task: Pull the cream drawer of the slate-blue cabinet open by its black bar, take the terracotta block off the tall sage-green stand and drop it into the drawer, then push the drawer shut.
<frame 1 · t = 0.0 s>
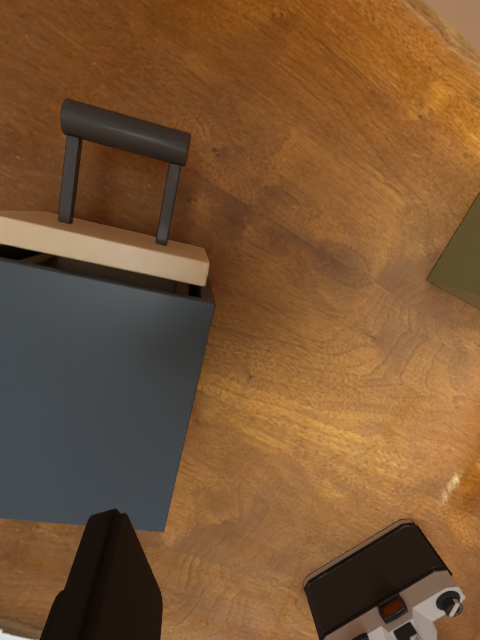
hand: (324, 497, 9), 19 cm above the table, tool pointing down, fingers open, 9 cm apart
cabinet: (112, 345, 26), on the table
camera: (368, 565, 36), on the table
drawer: (107, 291, 21), point 5 cm above the table, slide at 0.5 cm
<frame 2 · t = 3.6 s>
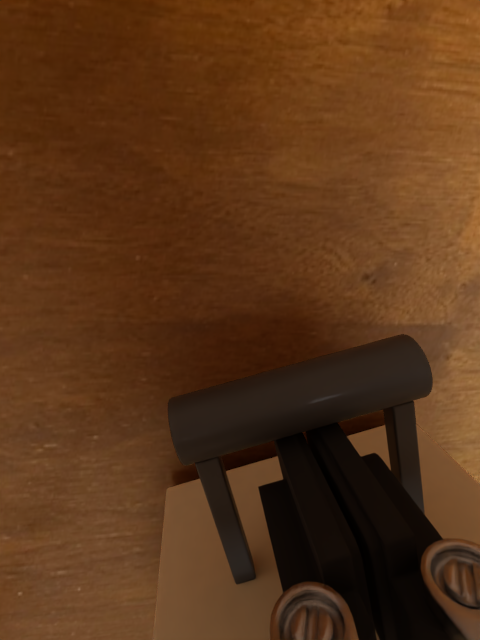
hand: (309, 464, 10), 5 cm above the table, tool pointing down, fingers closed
drawer: (339, 607, 12), point 5 cm above the table, slide at 0.8 cm, touching gripper
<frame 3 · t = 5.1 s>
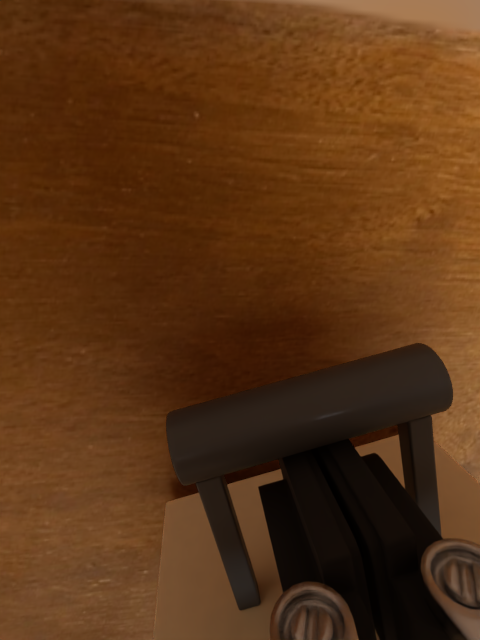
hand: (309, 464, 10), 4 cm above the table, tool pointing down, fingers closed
drawer: (348, 631, 11), point 5 cm above the table, slide at 7.3 cm, touching gripper
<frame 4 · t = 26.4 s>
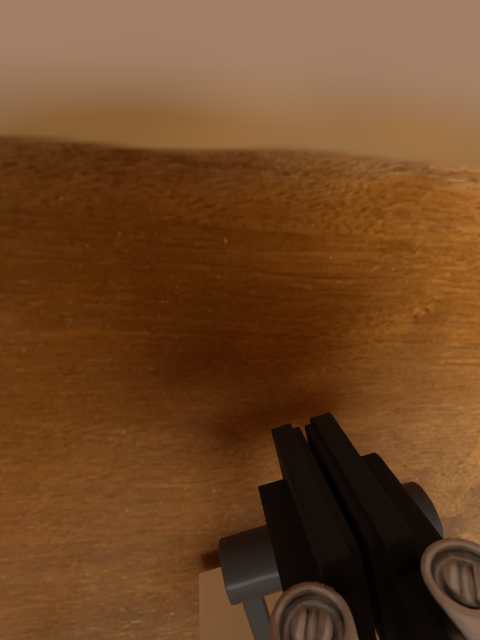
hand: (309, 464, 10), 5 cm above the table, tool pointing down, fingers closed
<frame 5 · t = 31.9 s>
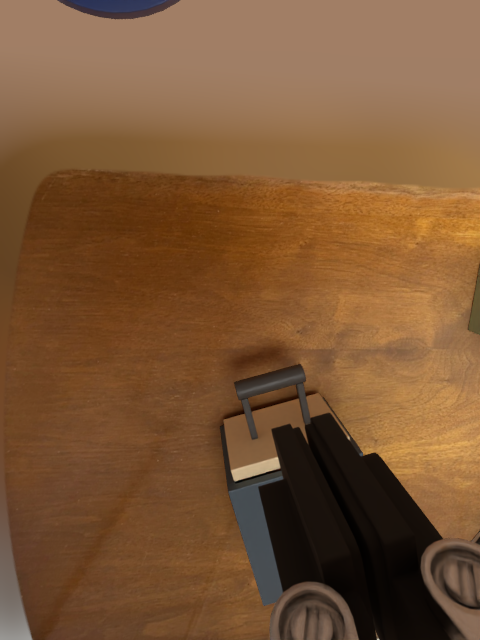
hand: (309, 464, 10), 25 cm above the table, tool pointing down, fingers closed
cabinet: (284, 462, 40), on the table
drawer: (286, 455, 34), point 5 cm above the table, slide at 0.0 cm, touching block, cabinet
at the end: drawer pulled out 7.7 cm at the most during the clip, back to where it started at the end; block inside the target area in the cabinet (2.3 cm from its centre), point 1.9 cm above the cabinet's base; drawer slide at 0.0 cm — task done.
